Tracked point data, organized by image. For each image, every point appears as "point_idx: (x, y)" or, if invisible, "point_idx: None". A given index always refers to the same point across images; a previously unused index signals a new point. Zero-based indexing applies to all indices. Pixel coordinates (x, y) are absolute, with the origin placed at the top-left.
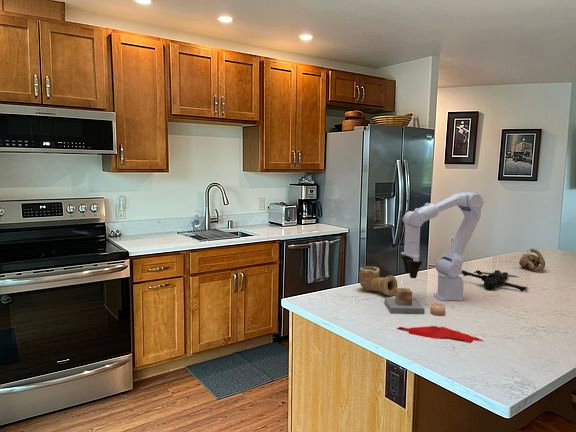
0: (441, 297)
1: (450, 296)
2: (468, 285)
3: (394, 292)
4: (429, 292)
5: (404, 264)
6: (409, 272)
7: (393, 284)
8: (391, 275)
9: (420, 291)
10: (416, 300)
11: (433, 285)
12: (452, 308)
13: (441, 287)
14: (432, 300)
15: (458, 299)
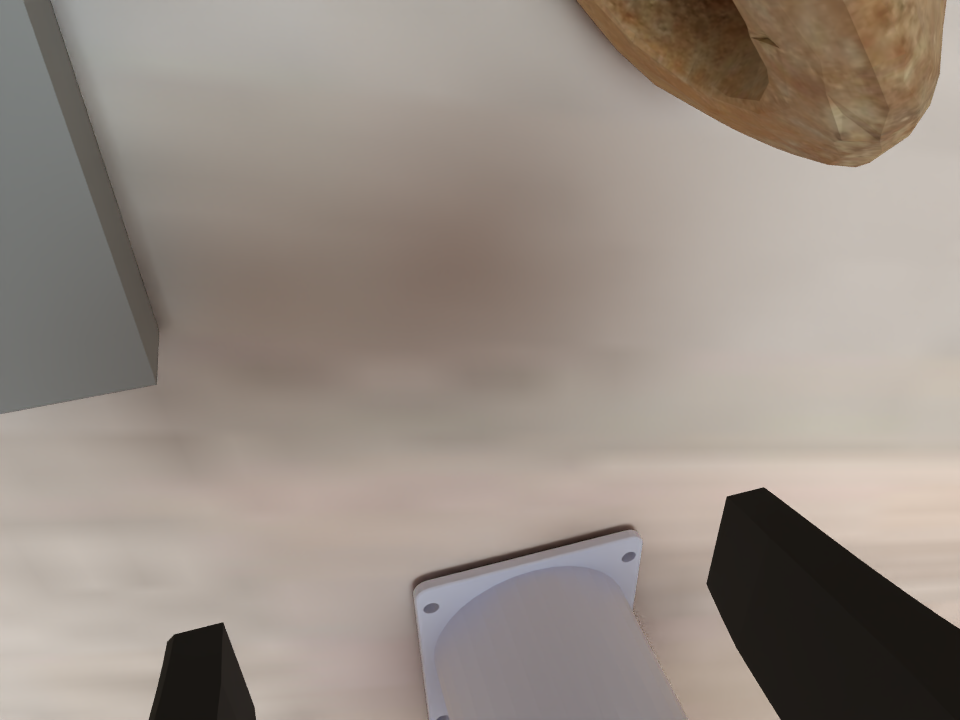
0: (469, 604)
1: (442, 689)
2: None
3: (602, 31)
4: (722, 485)
5: (929, 694)
6: (723, 580)
7: (746, 57)
8: (893, 68)
9: (774, 402)
10: (30, 395)
11: (951, 511)
12: (104, 686)
13: (511, 713)
14: (394, 517)
15: (428, 712)
